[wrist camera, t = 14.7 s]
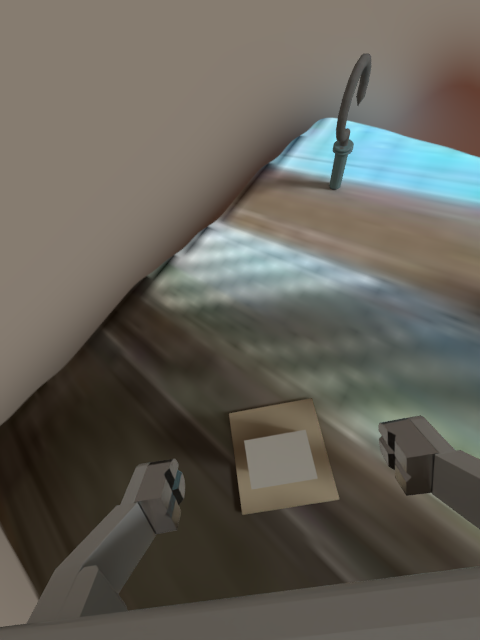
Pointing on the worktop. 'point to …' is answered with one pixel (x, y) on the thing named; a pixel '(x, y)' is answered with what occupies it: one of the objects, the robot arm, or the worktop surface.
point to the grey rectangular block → (279, 459)
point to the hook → (343, 143)
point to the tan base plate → (276, 423)
